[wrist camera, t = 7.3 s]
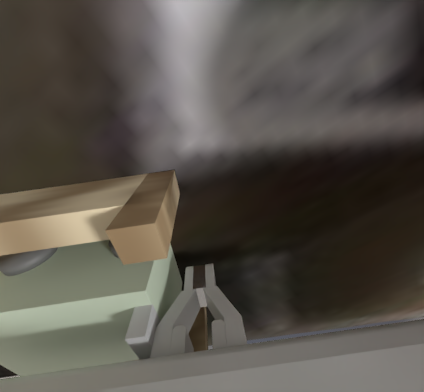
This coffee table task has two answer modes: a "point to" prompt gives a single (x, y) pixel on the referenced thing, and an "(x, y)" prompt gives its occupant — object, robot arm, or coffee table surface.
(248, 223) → the coffee table surface
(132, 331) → the pale green box
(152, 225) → the frame
